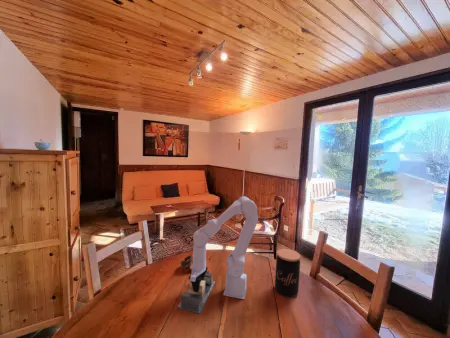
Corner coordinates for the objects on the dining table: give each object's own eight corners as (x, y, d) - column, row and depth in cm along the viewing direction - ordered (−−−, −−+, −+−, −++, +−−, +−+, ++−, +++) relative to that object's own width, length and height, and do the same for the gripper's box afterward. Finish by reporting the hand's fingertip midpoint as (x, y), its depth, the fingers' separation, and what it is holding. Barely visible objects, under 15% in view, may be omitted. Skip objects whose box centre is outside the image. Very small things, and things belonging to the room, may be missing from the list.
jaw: (214, 277, 101) (215, 268, 101) (210, 285, 94) (211, 276, 94) (200, 274, 103) (200, 266, 103) (195, 282, 96) (195, 273, 96)
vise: (215, 282, 98) (215, 272, 98) (200, 313, 78) (201, 301, 78) (196, 278, 100) (196, 269, 100) (177, 308, 80) (177, 296, 80)
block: (204, 291, 90) (205, 280, 90) (202, 297, 86) (202, 286, 86) (192, 288, 91) (192, 278, 91) (189, 294, 88) (189, 283, 87)
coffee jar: (272, 293, 92) (274, 255, 91) (277, 281, 101) (279, 246, 100) (296, 301, 87) (298, 262, 86) (299, 288, 96) (301, 252, 95)
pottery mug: (194, 277, 102) (186, 263, 102) (182, 279, 107) (175, 265, 107) (207, 261, 112) (200, 249, 112) (195, 263, 117) (189, 251, 117)
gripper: (196, 249, 96) (195, 276, 97) (183, 264, 82) (182, 296, 83) (210, 251, 94) (209, 279, 95) (200, 267, 80) (198, 300, 81)
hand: (198, 287), depth 89 cm, fingers open, 5 cm apart
